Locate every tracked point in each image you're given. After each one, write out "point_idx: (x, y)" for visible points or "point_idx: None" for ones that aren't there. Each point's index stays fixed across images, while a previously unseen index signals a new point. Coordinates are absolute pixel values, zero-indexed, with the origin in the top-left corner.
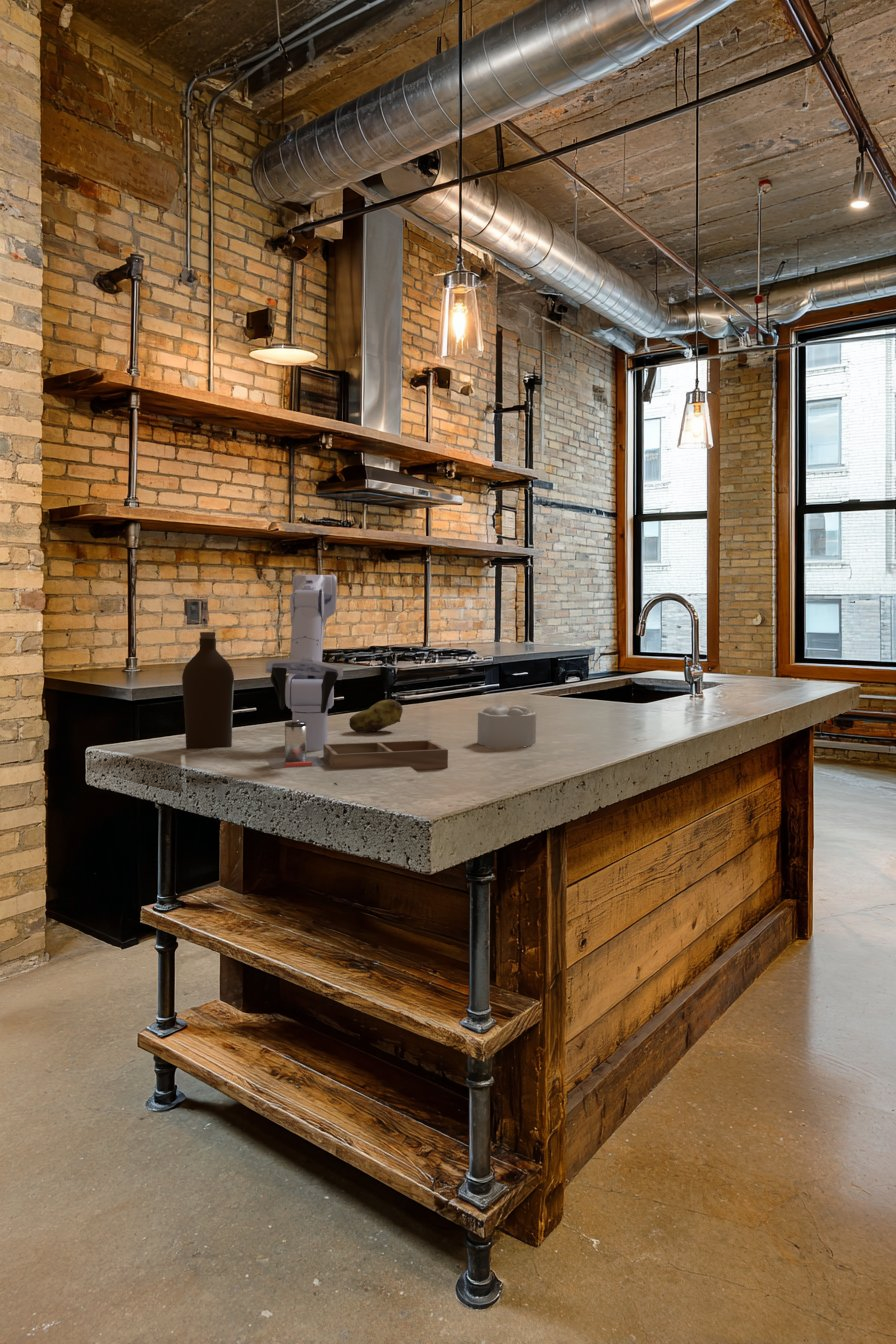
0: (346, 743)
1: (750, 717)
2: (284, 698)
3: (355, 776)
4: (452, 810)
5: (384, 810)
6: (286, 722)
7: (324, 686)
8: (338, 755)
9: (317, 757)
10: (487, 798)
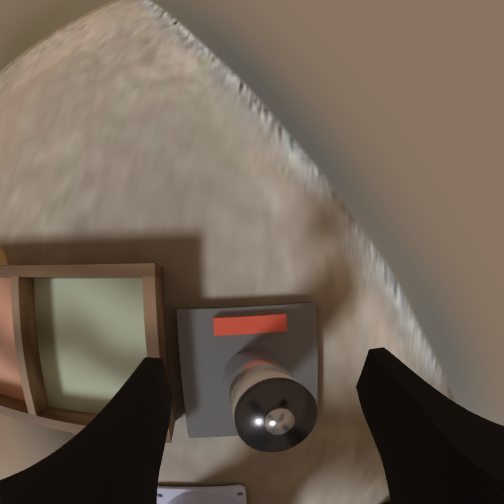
0: None
1: None
2: (390, 365)
3: (121, 225)
4: (93, 14)
5: (164, 13)
6: (310, 422)
7: (123, 476)
8: (142, 263)
9: (190, 422)
10: (26, 57)
